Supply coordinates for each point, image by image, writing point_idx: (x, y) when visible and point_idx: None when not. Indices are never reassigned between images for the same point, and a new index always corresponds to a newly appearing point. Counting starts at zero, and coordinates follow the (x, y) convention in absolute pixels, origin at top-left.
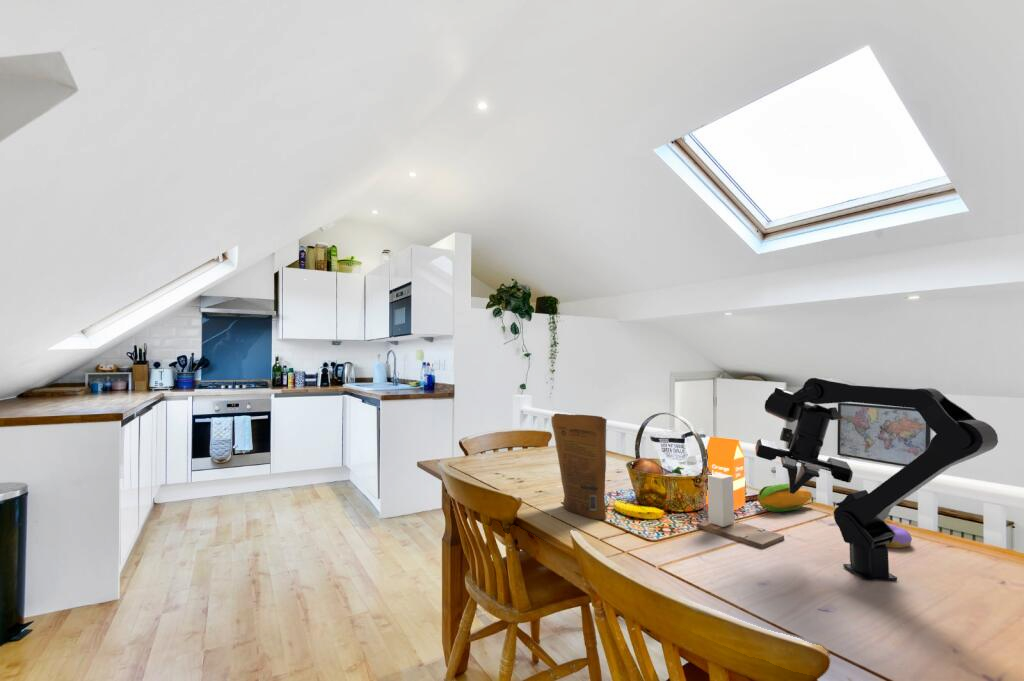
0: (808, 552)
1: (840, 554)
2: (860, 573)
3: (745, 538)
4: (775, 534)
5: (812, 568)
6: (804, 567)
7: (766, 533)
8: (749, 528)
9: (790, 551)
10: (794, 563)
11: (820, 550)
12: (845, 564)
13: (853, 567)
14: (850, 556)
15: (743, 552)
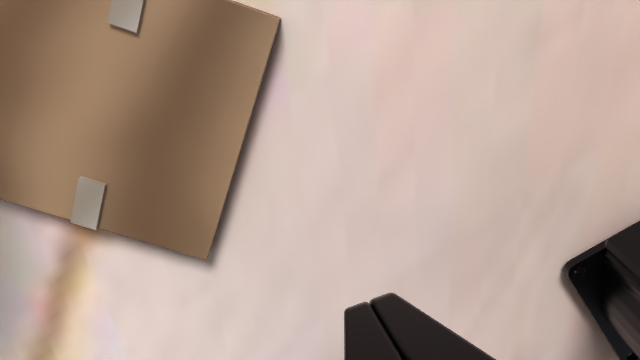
0: (419, 161)
1: (576, 88)
2: (620, 337)
3: (108, 224)
4: (229, 38)
5: None
6: None
7: (177, 53)
8: (56, 12)
9: (336, 201)
10: None
11: (478, 87)
12: (577, 266)
13: (606, 314)
14: (623, 276)
15: (154, 339)
